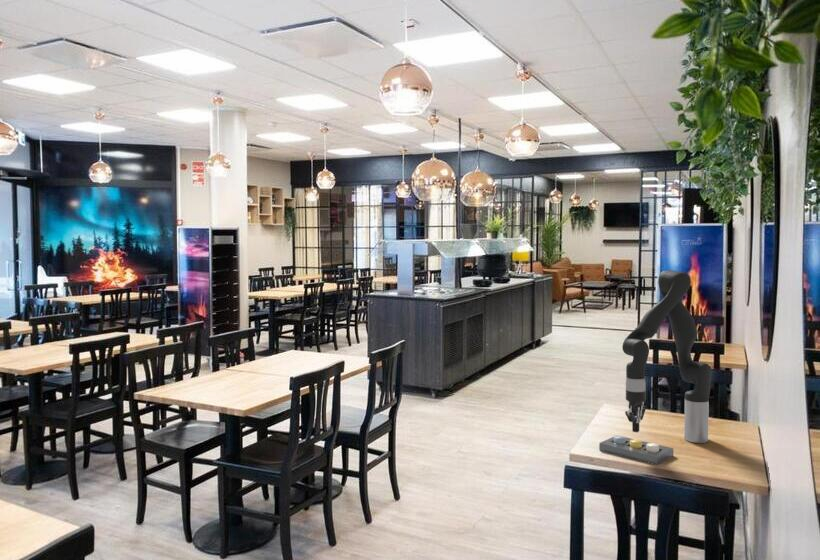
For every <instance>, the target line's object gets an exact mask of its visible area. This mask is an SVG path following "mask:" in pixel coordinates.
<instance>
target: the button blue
mask: <svg viewBox="0 0 820 560" xmlns="http://www.w3.org/2000/svg"><path fill="white" fill-rule="evenodd" d="M613 437H614V443H617V444H621V445H623V444H625V443H626V438H625V437H626V436H624V435H618V436H616V435H614V436H613Z"/></svg>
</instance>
